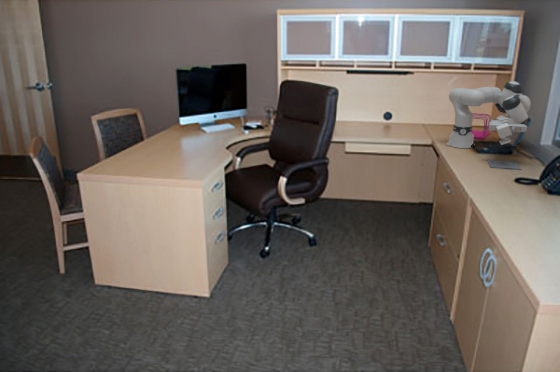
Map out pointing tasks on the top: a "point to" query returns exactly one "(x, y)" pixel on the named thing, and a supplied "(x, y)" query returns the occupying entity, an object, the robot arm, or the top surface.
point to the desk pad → (504, 164)
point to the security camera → (504, 133)
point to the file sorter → (484, 134)
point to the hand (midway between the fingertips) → (509, 129)
